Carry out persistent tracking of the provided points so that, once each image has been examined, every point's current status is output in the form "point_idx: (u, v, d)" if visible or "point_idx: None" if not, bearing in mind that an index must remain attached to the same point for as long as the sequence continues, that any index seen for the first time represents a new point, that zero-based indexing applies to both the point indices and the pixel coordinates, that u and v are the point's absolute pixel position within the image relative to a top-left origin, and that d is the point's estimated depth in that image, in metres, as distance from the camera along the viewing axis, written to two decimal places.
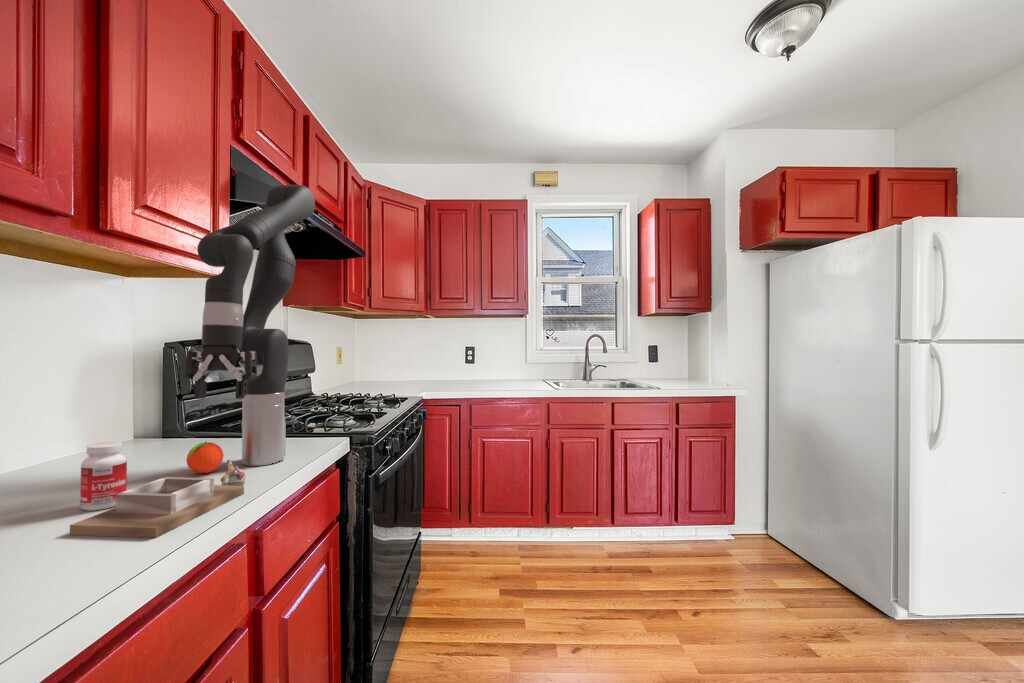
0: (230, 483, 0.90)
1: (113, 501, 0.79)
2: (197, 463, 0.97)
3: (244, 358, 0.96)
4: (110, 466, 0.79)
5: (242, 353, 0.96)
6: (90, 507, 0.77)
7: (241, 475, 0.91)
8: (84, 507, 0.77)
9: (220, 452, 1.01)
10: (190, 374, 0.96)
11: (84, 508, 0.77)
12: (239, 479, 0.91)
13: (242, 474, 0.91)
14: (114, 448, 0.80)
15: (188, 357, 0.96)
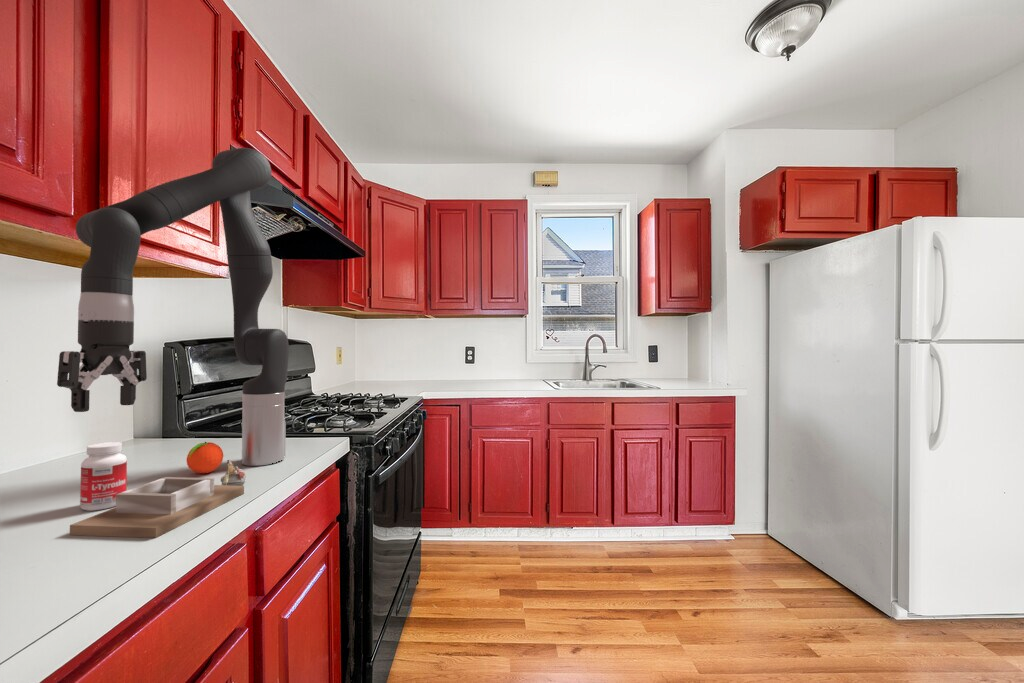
0: (230, 483, 0.90)
1: (113, 501, 0.79)
2: (197, 463, 0.97)
3: (140, 359, 0.86)
4: (110, 466, 0.79)
5: (132, 353, 0.85)
6: (90, 507, 0.77)
7: (241, 475, 0.91)
8: (84, 507, 0.77)
9: (220, 452, 1.01)
10: (77, 382, 0.74)
11: (84, 508, 0.77)
12: (239, 479, 0.91)
13: (242, 474, 0.91)
14: (114, 448, 0.80)
15: (75, 360, 0.74)
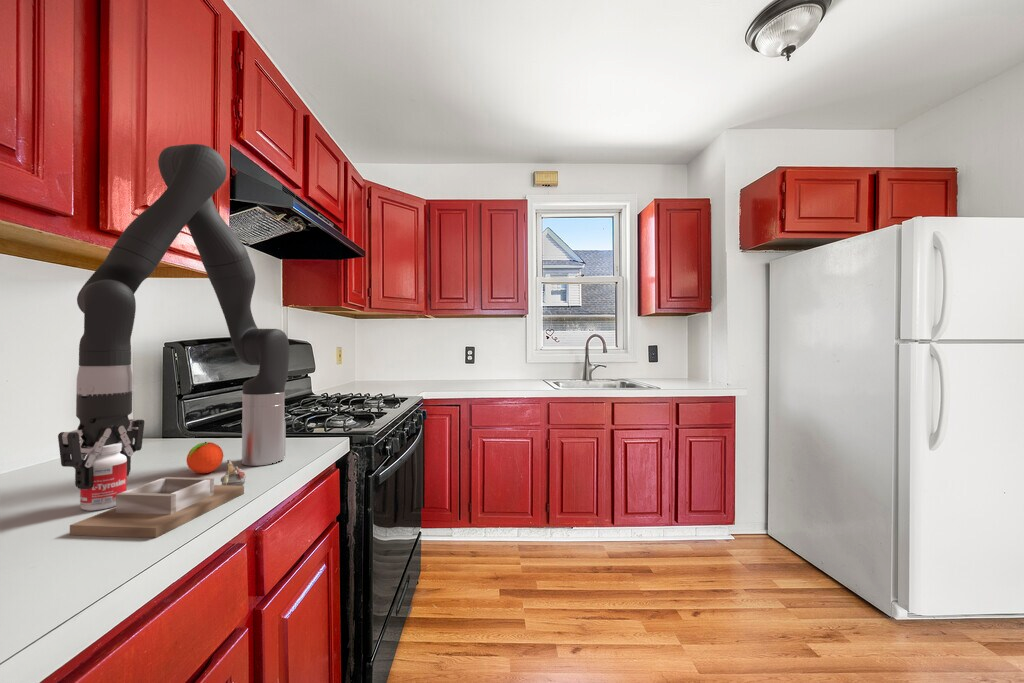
0: (230, 483, 0.90)
1: (113, 500, 0.79)
2: (197, 463, 0.97)
3: (138, 428, 0.86)
4: (110, 466, 0.79)
5: (131, 422, 0.85)
6: (90, 507, 0.77)
7: (241, 475, 0.91)
8: (84, 507, 0.77)
9: (220, 452, 1.01)
10: (80, 460, 0.75)
11: (84, 508, 0.77)
12: (239, 479, 0.91)
13: (242, 474, 0.91)
14: (113, 448, 0.80)
15: (74, 441, 0.74)
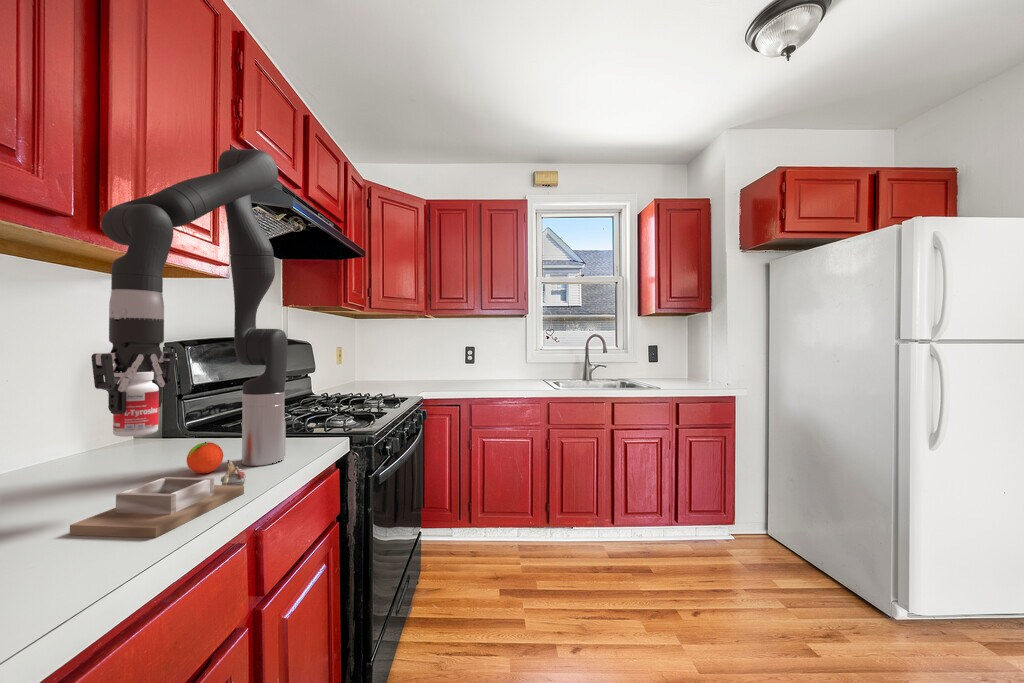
0: (230, 483, 0.90)
1: (146, 428, 0.78)
2: (197, 463, 0.97)
3: (169, 360, 0.84)
4: (143, 392, 0.77)
5: (163, 353, 0.84)
6: (123, 433, 0.76)
7: (241, 475, 0.91)
8: (117, 433, 0.76)
9: (220, 452, 1.01)
10: (113, 383, 0.74)
11: (117, 434, 0.76)
12: (239, 479, 0.91)
13: (242, 474, 0.91)
14: (146, 375, 0.78)
15: (108, 362, 0.73)
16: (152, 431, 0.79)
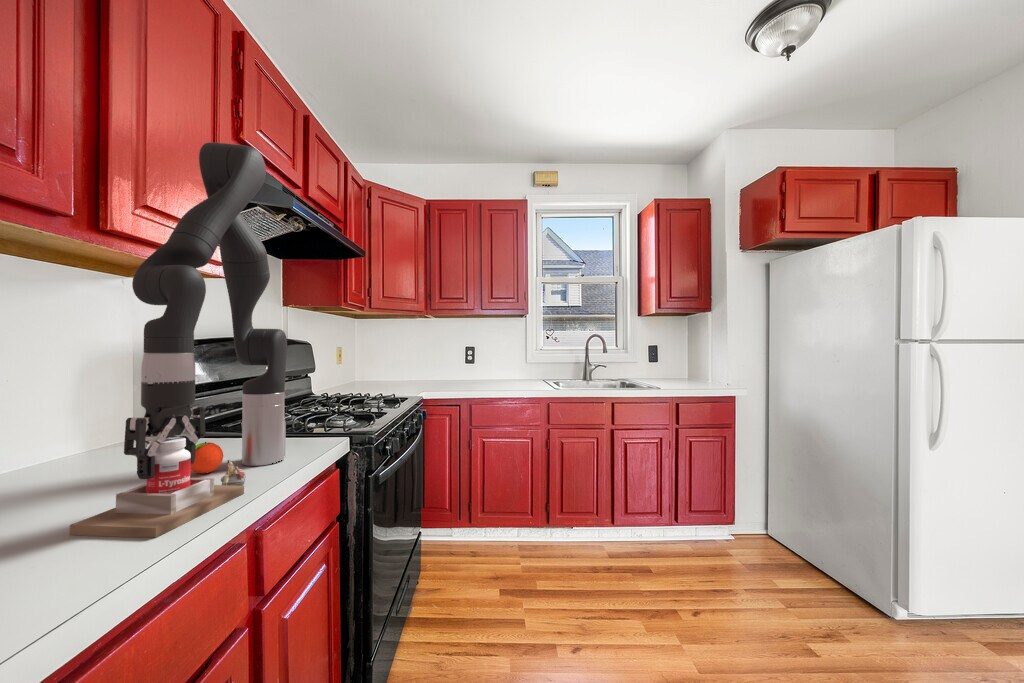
0: (230, 483, 0.90)
1: None
2: (197, 463, 0.97)
3: (199, 416, 0.83)
4: (177, 462, 0.76)
5: (192, 410, 0.82)
6: None
7: (241, 475, 0.91)
8: None
9: (220, 452, 1.01)
10: None
11: None
12: (239, 479, 0.91)
13: (242, 474, 0.91)
14: (179, 444, 0.77)
15: (142, 427, 0.71)
16: None
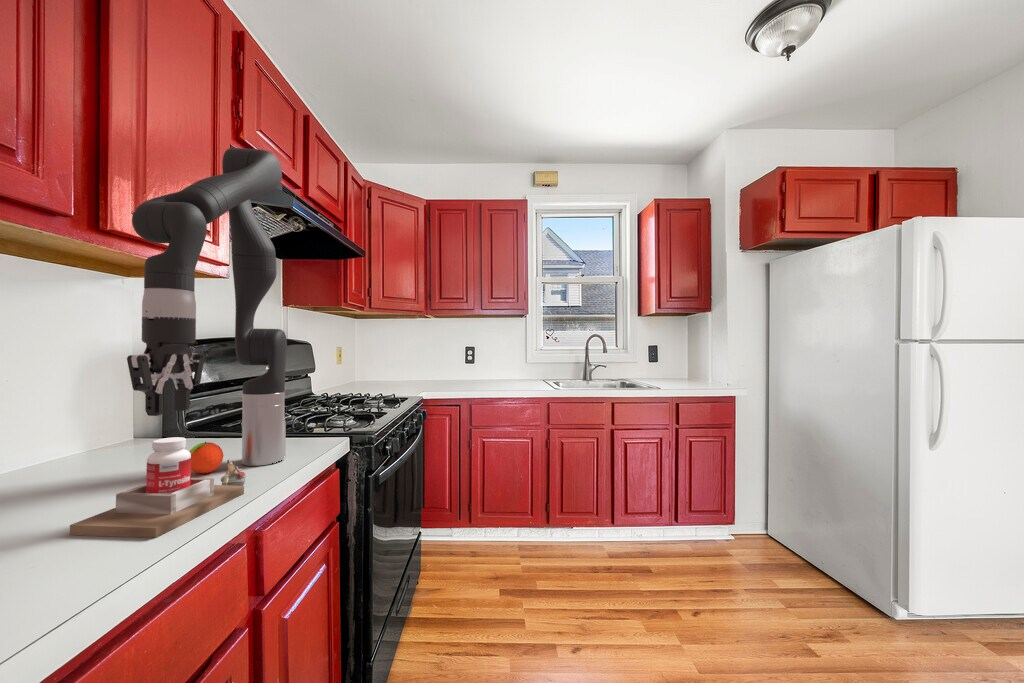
0: (230, 483, 0.90)
1: None
2: (197, 463, 0.97)
3: (198, 361, 0.83)
4: (177, 462, 0.76)
5: (193, 354, 0.82)
6: None
7: (241, 475, 0.91)
8: None
9: (220, 452, 1.01)
10: (151, 384, 0.73)
11: None
12: (239, 479, 0.91)
13: (242, 474, 0.91)
14: (179, 443, 0.77)
15: (144, 364, 0.71)
16: None
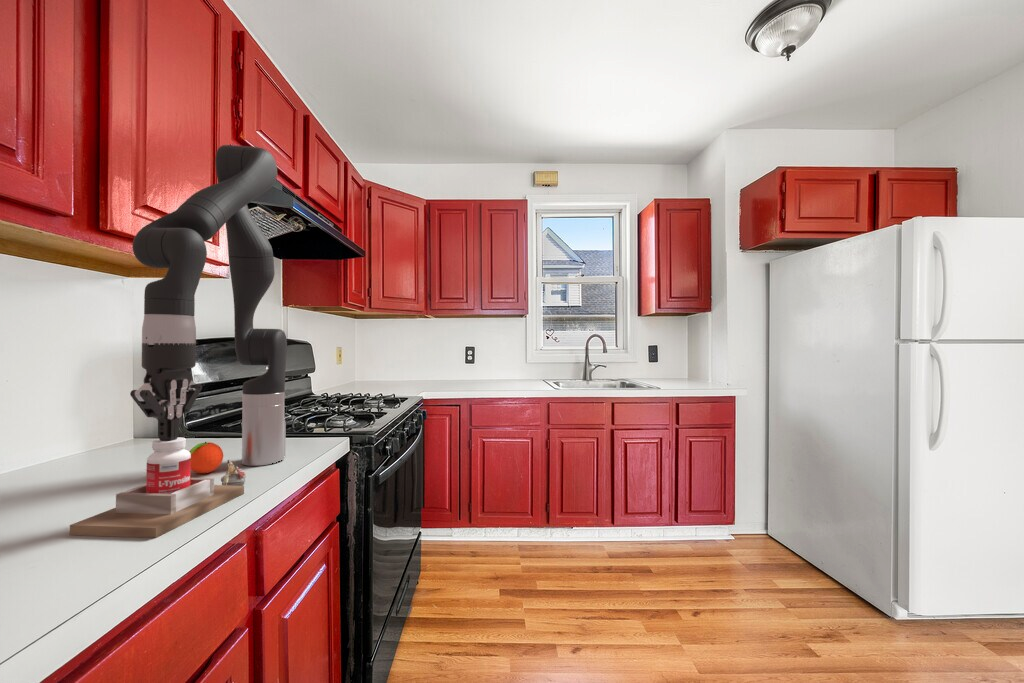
0: (230, 483, 0.90)
1: None
2: (197, 463, 0.97)
3: (195, 390, 0.82)
4: (177, 462, 0.76)
5: (191, 382, 0.82)
6: None
7: (241, 475, 0.91)
8: None
9: (220, 452, 1.01)
10: (163, 410, 0.75)
11: None
12: (239, 479, 0.91)
13: (242, 474, 0.91)
14: (179, 444, 0.77)
15: (149, 398, 0.72)
16: None
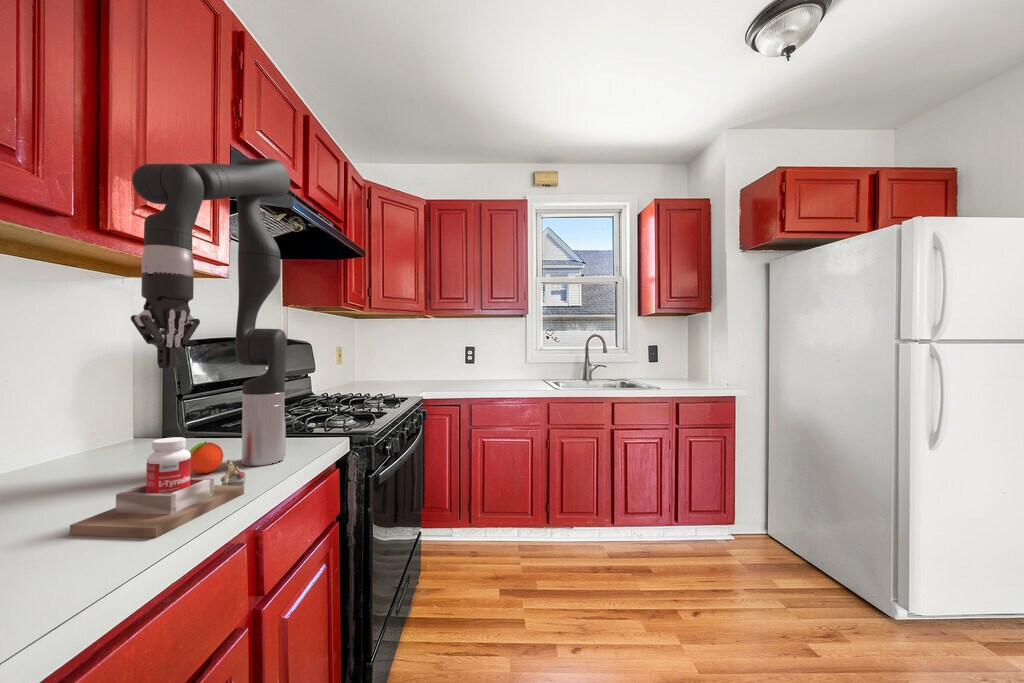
0: (230, 483, 0.90)
1: None
2: (197, 463, 0.97)
3: (192, 323, 0.85)
4: (177, 462, 0.76)
5: (189, 316, 0.85)
6: None
7: (241, 475, 0.91)
8: None
9: (220, 452, 1.01)
10: (162, 337, 0.78)
11: None
12: (239, 479, 0.91)
13: (242, 474, 0.91)
14: (179, 443, 0.77)
15: (149, 323, 0.76)
16: None
